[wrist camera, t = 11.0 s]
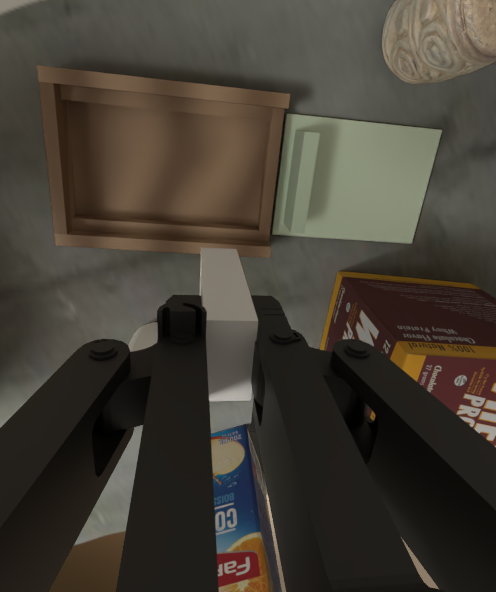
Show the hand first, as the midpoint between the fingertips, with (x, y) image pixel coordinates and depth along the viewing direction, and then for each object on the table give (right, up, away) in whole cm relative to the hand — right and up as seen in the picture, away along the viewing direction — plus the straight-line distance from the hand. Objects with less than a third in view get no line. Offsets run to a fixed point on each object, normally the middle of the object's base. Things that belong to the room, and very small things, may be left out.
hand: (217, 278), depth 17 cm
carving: (+15, +21, +15) cm, 29 cm away
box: (-5, +10, +17) cm, 21 cm away
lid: (+11, +10, +20) cm, 25 cm away
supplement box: (+17, -3, +27) cm, 32 cm away
